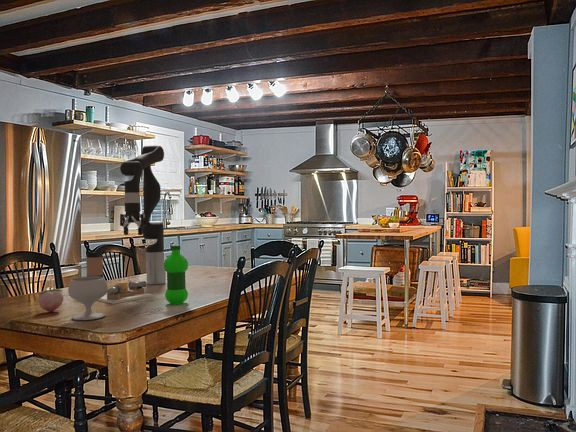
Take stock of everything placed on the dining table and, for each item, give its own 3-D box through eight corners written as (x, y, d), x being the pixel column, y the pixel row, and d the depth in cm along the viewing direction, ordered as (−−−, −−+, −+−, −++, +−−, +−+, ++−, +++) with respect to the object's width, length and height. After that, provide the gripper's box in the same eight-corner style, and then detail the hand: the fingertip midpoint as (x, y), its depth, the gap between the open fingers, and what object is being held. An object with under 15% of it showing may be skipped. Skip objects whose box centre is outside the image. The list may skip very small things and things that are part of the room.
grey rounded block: (113, 297, 235) (112, 284, 235) (123, 297, 235) (123, 284, 234) (105, 300, 227) (104, 287, 227) (116, 300, 227) (115, 287, 226)
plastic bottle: (165, 306, 218) (163, 246, 217) (164, 302, 228) (163, 244, 228) (189, 304, 221) (188, 245, 220) (187, 300, 231) (186, 244, 230)
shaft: (142, 291, 250) (141, 279, 250) (148, 292, 247) (147, 280, 247) (127, 293, 244) (126, 281, 244) (133, 294, 241) (132, 282, 241)
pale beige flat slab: (130, 293, 253) (130, 287, 253) (152, 297, 241) (152, 291, 241) (92, 299, 238) (92, 293, 238) (113, 303, 226) (113, 297, 226)
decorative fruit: (56, 308, 217) (56, 284, 216) (66, 311, 211) (66, 286, 211) (33, 312, 209) (33, 287, 209) (43, 315, 204) (43, 289, 204)
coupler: (124, 294, 243) (123, 281, 243) (130, 295, 240) (130, 282, 240) (114, 295, 239) (114, 282, 239) (120, 296, 236) (120, 283, 236)
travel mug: (106, 291, 261) (105, 251, 260) (99, 293, 253) (98, 252, 253) (91, 291, 261) (90, 251, 261) (84, 293, 254) (83, 252, 253)
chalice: (112, 313, 206) (112, 275, 205) (101, 321, 192) (100, 280, 191) (76, 314, 205) (75, 276, 205) (62, 322, 191) (61, 281, 191)
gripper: (115, 202, 256) (116, 235, 257) (139, 201, 251) (139, 235, 251) (126, 202, 263) (126, 234, 263) (149, 201, 257) (149, 234, 258)
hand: (133, 234), depth 257 cm, fingers open, 8 cm apart
